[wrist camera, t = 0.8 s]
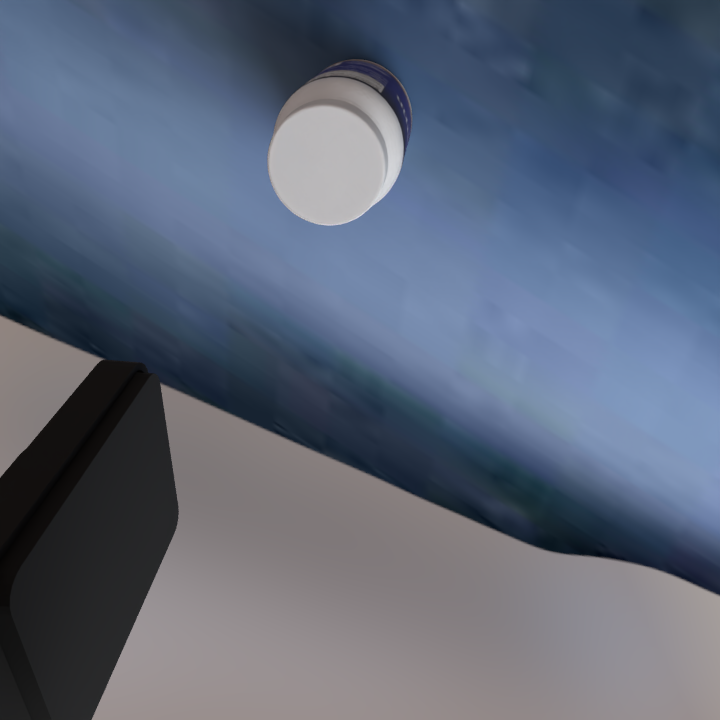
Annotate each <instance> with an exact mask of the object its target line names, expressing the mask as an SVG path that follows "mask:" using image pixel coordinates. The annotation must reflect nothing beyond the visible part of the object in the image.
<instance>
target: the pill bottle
mask: <svg viewBox="0 0 720 720" xmlns="http://www.w3.org/2000/svg"><path fill="white" fill-rule="evenodd" d="M411 128H412V110H411V105H410V101H409V98H408V95H407V93H406V91H405V89H404V87H403V86H402V84H401V83H400V81H399V80H398V79H397V78H396V77H395V76H394V75H393V74H392V73H391V72H390V71H389V70H387V69H386V68H384V67H382V66H381V65H379V64H376V63H374V62H371V61H367V60H359V59H352V60H345V61H341V62H338V63H335V64H333V65H331V66H329V67H327V68H326V69H324V70H323V71H321V72H320V73H319V74H317V75H316V76H315V77H314V78H312V79H311V80H310V81H308V82H307V83H306V84H305V85H303V86H302V87H301V88H299V89H298V90H297V91H296V92H295V93H294V94H293V95H292V96H291V97H290V98H289V99H288V100H287V102H286V103H285V105H284V106H283V108H282V109H281V111H280V113H279V115H278V118H277V121H276V124H275V128H274V134H273V137H272V139H271V142H270V146H269V150H268V172H269V177H270V181H271V183H272V186H273V188H274V190H275V192H276V194H277V195H278V197H279V199H280V200H281V201H282V202H283V204H284V205H285V206H286V207H287V208H288V209H289V210H290V211H292V212H293V213H294V214H295V215H297V216H299V217H300V218H302V219H304V220H307V221H309V222H312V223H315V224H320V225H339V224H344V223H347V222H350V221H352V220H354V219H356V218H358V217H360V216H361V215H363V214H364V213H365V212H366V211H367V210H368V209H370V207H371V206H373V205H374V204H376V203H377V202H379V201H380V200H381V199H382V198H383V197H384V196H385V195H386V194H387V193H388V192H389V190H390V189H391V188H392V186H393V185H394V183H395V181H396V179H397V177H398V175H399V173H400V170H401V167H402V163H403V159H404V155H405V152H406V148H407V145H408V141H409V137H410V133H411Z"/></svg>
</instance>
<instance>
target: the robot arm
mask: <svg viewBox="0 0 720 720" xmlns="http://www.w3.org/2000/svg"><path fill="white" fill-rule="evenodd" d="M178 512H179V511H178V502H177V495H176V488H175V481H174V474H173V468H172V461H171V454H170V448H169V441H168V434H167V427H166V420H165V413H164V408H163V400H162V393H161V386H160V381H159V378H158V376H157V375H156V374H152V373H148V370H147V368H146V366H145V365H144V364H143V363H139V362H127V361H114V360H102V361H100V362H99V363H98V364H97V365H96V366H95V367H94V369H93V370H92V371H91V372H90V373H89V375H88V376H87V377H86V378H85V380H84V381H83V382H82V383H81V384H80V385H79V387H78V388H77V389H76V390H75V391H74V393H73V394H72V395H71V396H70V397H69V398H68V400H67V401H66V402H65V403H64V404H63V406H62V407H61V408H60V409H59V410H58V412H57V413H56V414H55V415H54V416H53V418H52V419H51V420H50V421H49V422H48V424H47V425H46V426H45V427H44V428H43V430H42V431H41V432H40V433H39V434H38V436H37V437H36V438H35V439H34V440H33V442H32V443H31V444H30V445H29V446H28V447H27V449H25V450H24V451H23V452H22V453H21V454H20V455H19V456H18V457H17V459H16V460H15V461H14V462H13V463H12V464H11V466H10V467H9V468H8V469H7V470H6V472H5V473H4V474H3V475H2V476H1V478H0V720H91V719H92V717H93V715H94V712H95V710H96V708H97V706H98V704H99V702H100V699H101V697H102V695H103V693H104V690H105V688H106V686H107V684H108V681H109V679H110V677H111V674H112V672H113V670H114V668H115V666H116V663H117V661H118V659H119V657H120V654H121V652H122V650H123V647H124V645H125V643H126V640H127V638H128V636H129V634H130V632H131V630H132V627H133V625H134V623H135V621H136V618H137V616H138V614H139V612H140V609H141V607H142V605H143V603H144V600H145V598H146V596H147V593H148V591H149V589H150V587H151V585H152V582H153V580H154V578H155V575H156V573H157V571H158V569H159V567H160V564H161V562H162V560H163V557H164V555H165V553H166V551H167V549H168V546H169V544H170V542H171V540H172V537H173V535H174V532H175V530H176V526H177V521H178Z"/></svg>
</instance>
